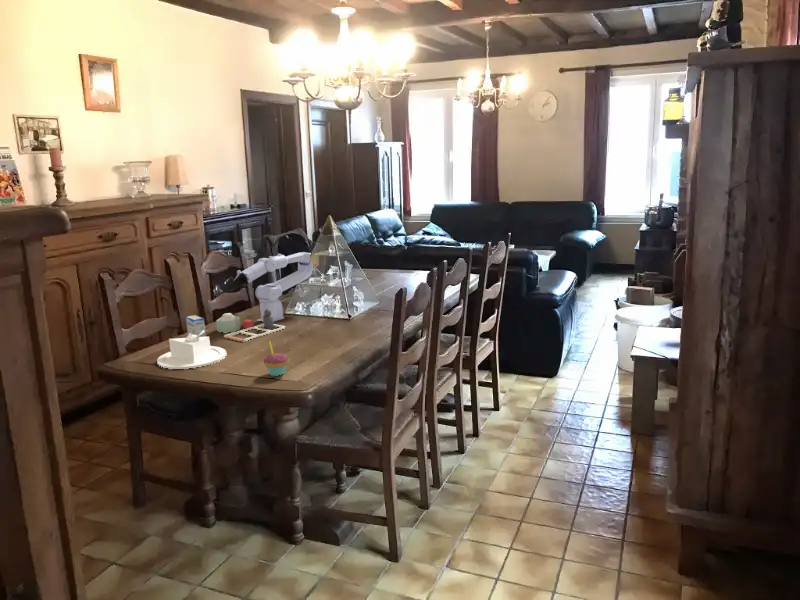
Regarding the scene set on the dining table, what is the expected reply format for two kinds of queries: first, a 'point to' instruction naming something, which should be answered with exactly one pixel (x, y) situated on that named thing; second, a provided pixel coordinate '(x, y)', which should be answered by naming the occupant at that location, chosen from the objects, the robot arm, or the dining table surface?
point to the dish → (191, 353)
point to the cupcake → (276, 362)
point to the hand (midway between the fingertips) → (226, 288)
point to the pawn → (268, 320)
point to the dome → (227, 317)
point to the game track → (252, 333)
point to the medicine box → (195, 325)
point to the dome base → (228, 325)
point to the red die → (248, 323)
